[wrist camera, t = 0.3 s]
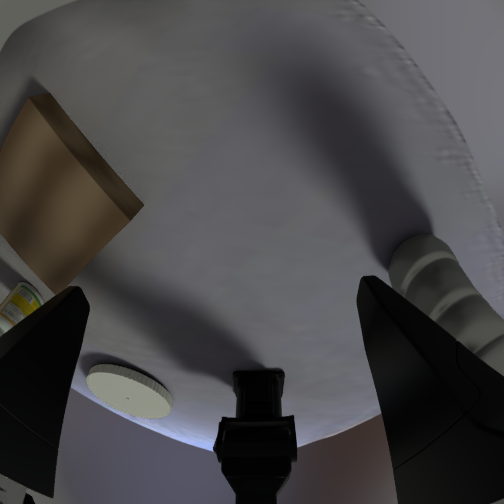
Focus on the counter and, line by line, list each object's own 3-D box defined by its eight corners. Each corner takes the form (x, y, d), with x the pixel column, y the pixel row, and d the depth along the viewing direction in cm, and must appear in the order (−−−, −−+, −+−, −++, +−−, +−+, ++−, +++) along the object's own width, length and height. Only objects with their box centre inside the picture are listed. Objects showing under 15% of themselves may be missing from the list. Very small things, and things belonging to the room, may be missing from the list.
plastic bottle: (371, 252, 24) (465, 467, 7) (428, 211, 22) (568, 391, 5) (395, 293, 27) (468, 470, 10) (445, 258, 24) (545, 417, 7)
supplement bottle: (35, 281, 27) (-5, 334, 19) (51, 313, 30) (19, 367, 22) (12, 279, 27) (-26, 326, 19) (27, 309, 30) (-5, 357, 22)
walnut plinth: (144, 205, 22) (130, 220, 20) (70, 279, 27) (57, 296, 24) (50, 93, 16) (28, 97, 14) (-4, 192, 21) (-21, 204, 18)
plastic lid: (152, 360, 34) (147, 375, 32) (185, 408, 41) (183, 421, 39) (76, 355, 35) (70, 368, 33) (116, 402, 42) (113, 413, 40)
